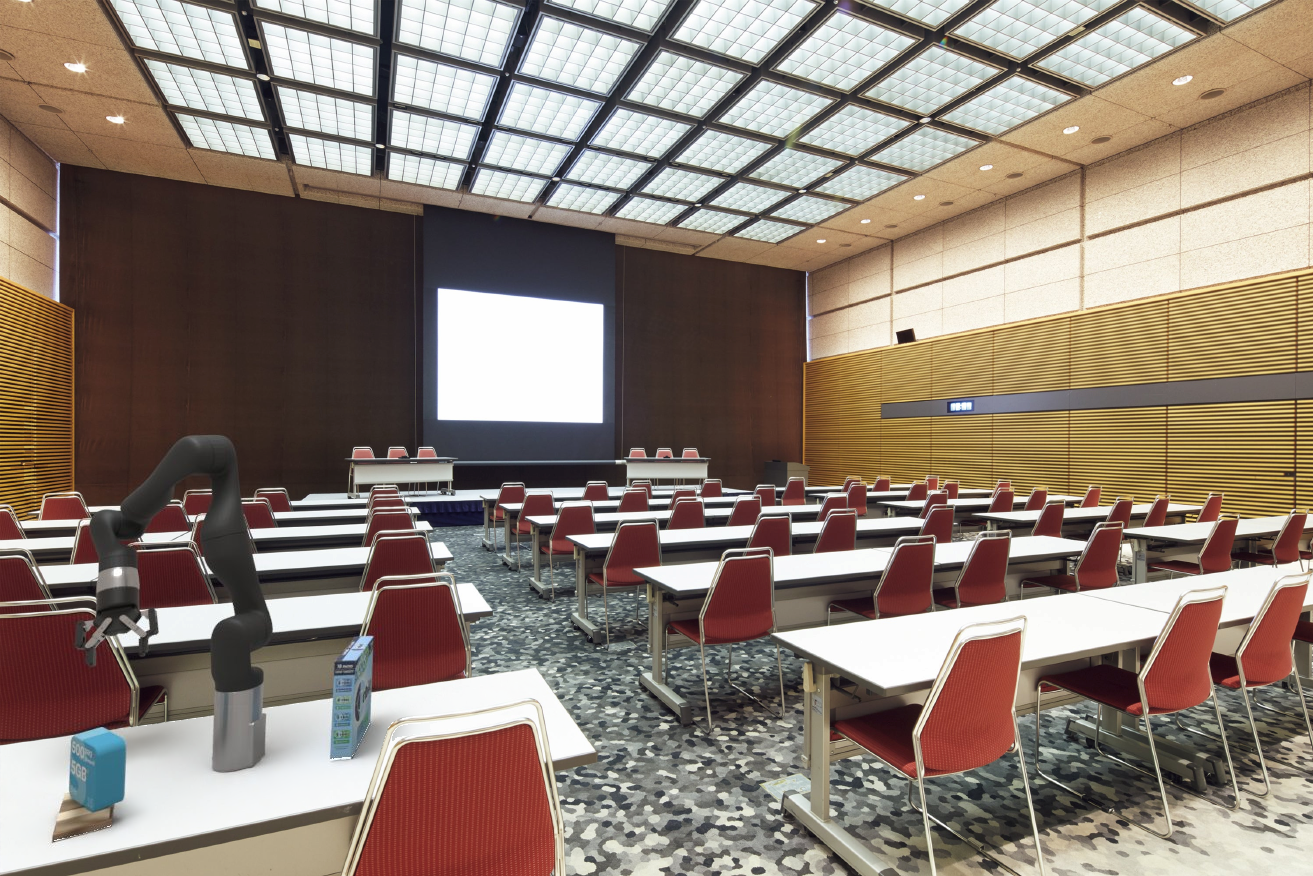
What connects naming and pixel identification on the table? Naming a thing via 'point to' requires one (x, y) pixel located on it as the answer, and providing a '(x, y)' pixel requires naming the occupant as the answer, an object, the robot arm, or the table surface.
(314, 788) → the table surface
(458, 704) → the table surface
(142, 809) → the table surface
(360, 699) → the blue product box
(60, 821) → the display stand
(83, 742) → the data package
